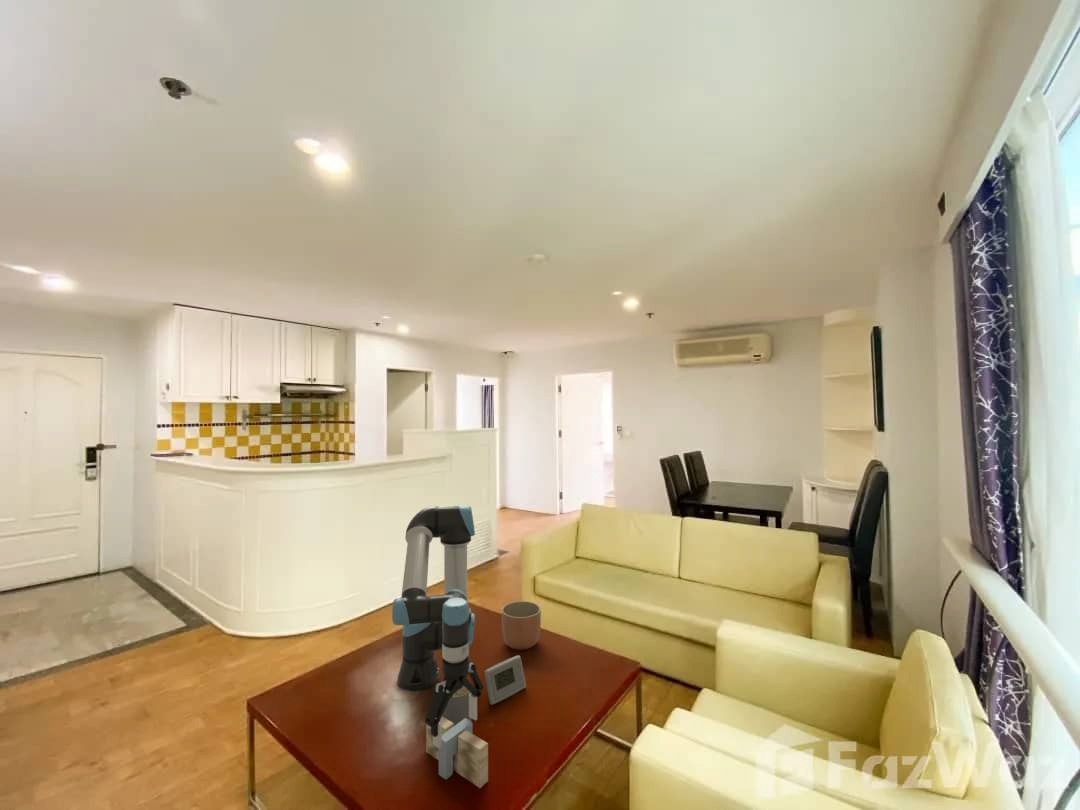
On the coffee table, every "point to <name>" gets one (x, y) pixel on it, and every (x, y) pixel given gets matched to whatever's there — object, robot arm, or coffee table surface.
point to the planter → (521, 624)
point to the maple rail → (464, 754)
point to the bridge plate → (451, 747)
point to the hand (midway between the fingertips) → (455, 731)
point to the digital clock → (504, 679)
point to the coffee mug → (458, 706)
